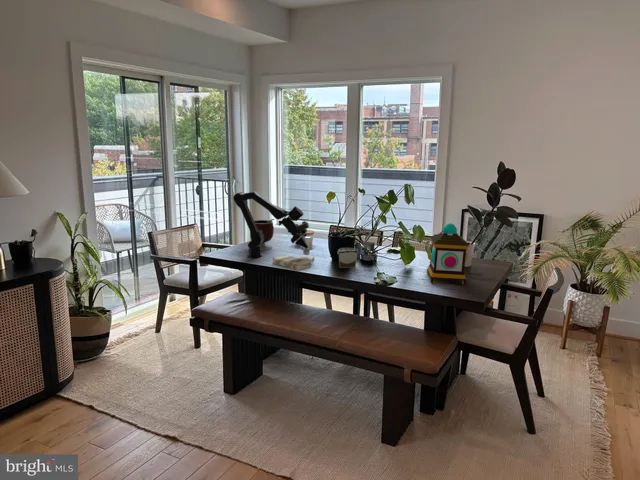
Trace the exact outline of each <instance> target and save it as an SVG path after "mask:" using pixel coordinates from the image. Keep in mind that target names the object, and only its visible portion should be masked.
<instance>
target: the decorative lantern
mask: <svg viewBox="0 0 640 480" xmlns="http://www.w3.org/2000/svg"><path fill="white" fill-rule="evenodd" d="M430 241H431V248H430V249H431V250H430V253H428V255H427V259H428V260H429V264H428V267H427V269H426V274H427V275H428V276H429V277H430V283H431V284H434V282H435V281H434V280H436V279H437V280H439V279H440V280H452V281H455V280H456V281H461V282H462V283H461V284H462V285H463V284H464V285H463V286H465V285H466V283H467V278H466V275H465V267H466V261H468V257H469V256H468V253H467V250H468V248H469V244H468V242H467V241H466V240H465V239H464V238H463V237H462V235H459V233H458V228H457V227H456V225H455V224H454V223H452V222H450V223H447V224H446V225H444V226H443V228H442V230H441V232H439V233H437V234H433V235H432V236H430Z"/></svg>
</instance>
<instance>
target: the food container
mask: <svg viewBox="0 0 640 480" xmlns="http://www.w3.org/2000/svg"><path fill="white" fill-rule="evenodd" d="M358 253H359V252H358V249H355V247H354V248H352V247H340V248H339V249H338V250H337V253H336V254H337V255H338V265H339V266H338V267H339V269H346V268H356V267H357V261H358V260H357V254H358Z"/></svg>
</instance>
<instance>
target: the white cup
mask: <svg viewBox="0 0 640 480" xmlns="http://www.w3.org/2000/svg"><path fill="white" fill-rule="evenodd" d="M303 240H304V241H305V243H306V244H307V246H308V248H305V247H303V246H300V250H302V251H303V252H302V253H303V254H302V255H306V256H310V251H312V250H313V240H314V236H313V237H311V236H303Z"/></svg>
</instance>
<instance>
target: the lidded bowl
mask: <svg viewBox="0 0 640 480" xmlns="http://www.w3.org/2000/svg"><path fill="white" fill-rule="evenodd" d="M306 233H307V236H311V237H313V238H314V235H315V234H314V233H315V232H314V230H311V229H307V232H306ZM306 233H305V234H306Z"/></svg>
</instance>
